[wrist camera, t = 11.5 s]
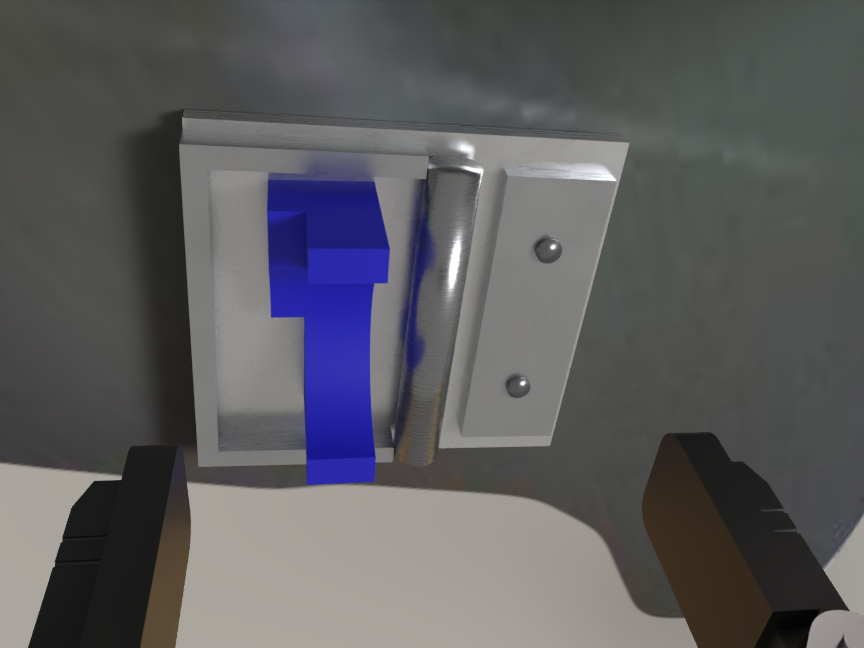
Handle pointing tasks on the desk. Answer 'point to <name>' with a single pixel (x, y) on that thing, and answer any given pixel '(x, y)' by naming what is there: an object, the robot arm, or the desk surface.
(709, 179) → the desk surface
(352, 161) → the hinge plate
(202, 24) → the desk surface
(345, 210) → the blue stepped long block
